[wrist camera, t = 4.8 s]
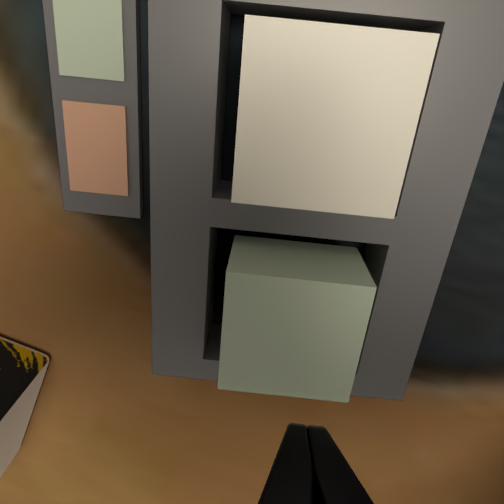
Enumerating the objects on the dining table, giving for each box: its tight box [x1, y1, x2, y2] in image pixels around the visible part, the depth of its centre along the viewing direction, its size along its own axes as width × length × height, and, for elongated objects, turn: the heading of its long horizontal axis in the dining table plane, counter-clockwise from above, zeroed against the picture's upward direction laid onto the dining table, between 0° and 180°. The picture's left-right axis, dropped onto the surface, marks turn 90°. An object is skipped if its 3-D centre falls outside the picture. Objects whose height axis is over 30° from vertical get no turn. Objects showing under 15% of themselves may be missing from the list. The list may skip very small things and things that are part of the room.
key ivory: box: [231, 14, 440, 219], centre depth 11 cm, size 4×4×3 cm
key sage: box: [217, 235, 377, 403], centre depth 14 cm, size 4×4×3 cm
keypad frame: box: [148, 0, 504, 401], centre depth 13 cm, size 20×10×2 cm, turn 175°
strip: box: [43, 0, 143, 219], centre depth 14 cm, size 9×3×1 cm, turn 175°
